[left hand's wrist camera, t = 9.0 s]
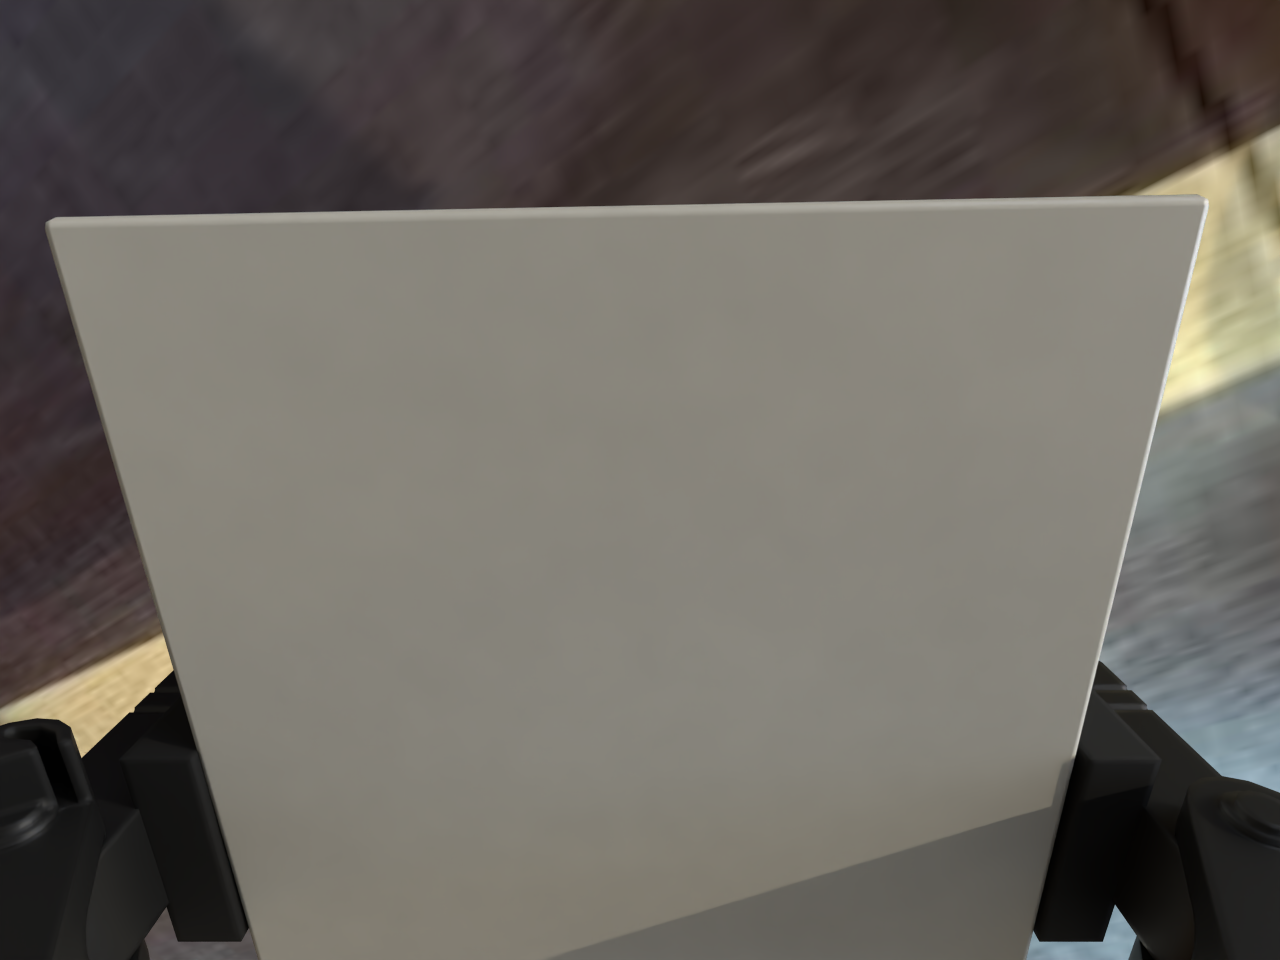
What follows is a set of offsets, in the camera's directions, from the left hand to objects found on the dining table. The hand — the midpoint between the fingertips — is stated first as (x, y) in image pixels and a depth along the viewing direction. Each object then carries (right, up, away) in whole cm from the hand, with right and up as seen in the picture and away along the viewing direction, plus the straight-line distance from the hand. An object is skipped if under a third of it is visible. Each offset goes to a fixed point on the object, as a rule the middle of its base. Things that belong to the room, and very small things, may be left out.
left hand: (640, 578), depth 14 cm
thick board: (0, -23, +9) cm, 25 cm away
